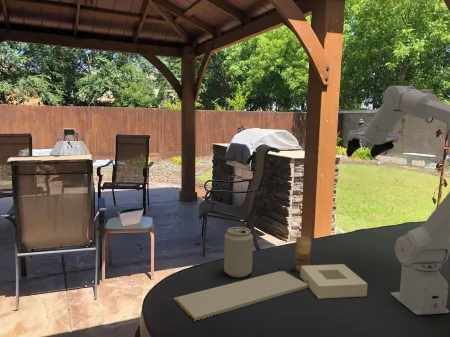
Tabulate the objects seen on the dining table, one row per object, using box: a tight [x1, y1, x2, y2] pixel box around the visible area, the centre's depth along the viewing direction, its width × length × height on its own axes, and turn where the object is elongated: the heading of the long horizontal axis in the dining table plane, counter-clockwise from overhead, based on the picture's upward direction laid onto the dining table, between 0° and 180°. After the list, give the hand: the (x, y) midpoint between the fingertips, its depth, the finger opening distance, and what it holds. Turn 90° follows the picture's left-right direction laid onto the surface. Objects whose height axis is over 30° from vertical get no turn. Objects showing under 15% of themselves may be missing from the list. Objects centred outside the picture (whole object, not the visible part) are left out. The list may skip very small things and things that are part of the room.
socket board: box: [299, 263, 369, 300], centre depth 91 cm, size 12×12×3 cm
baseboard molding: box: [173, 265, 309, 322], centre depth 86 cm, size 31×3×12 cm
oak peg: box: [294, 235, 312, 273], centre depth 99 cm, size 4×4×9 cm
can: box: [223, 226, 254, 279], centre depth 96 cm, size 8×8×12 cm
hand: (359, 154), depth 107 cm, fingers open, 7 cm apart
